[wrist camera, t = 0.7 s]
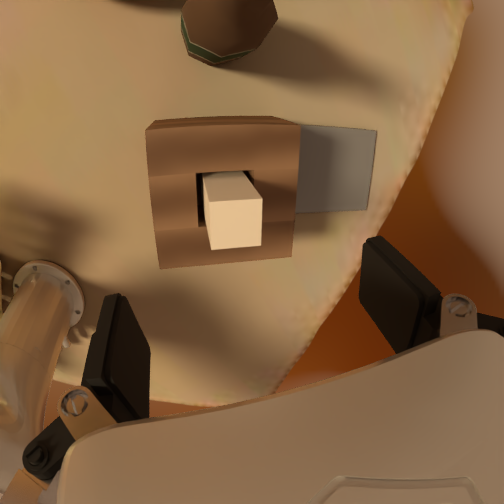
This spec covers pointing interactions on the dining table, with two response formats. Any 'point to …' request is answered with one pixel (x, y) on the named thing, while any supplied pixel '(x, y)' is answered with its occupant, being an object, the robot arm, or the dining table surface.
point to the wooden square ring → (215, 160)
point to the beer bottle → (225, 28)
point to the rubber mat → (334, 168)
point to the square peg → (231, 210)
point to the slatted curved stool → (0, 296)
